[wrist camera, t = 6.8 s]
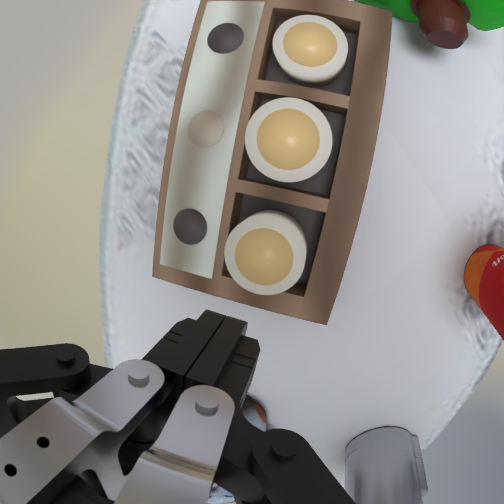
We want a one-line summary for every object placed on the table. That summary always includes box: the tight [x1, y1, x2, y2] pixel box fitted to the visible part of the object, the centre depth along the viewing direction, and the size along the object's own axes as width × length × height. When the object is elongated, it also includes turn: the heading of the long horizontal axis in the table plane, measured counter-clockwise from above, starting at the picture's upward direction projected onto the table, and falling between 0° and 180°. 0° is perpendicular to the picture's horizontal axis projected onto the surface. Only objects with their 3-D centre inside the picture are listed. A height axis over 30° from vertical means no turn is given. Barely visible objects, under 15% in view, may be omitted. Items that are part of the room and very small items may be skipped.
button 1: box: [273, 15, 348, 87], centre depth 19 cm, size 6×6×3 cm
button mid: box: [245, 97, 332, 182], centre depth 19 cm, size 6×6×3 cm
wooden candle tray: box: [152, 0, 392, 325], centre depth 22 cm, size 16×27×3 cm, turn 169°
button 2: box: [224, 210, 307, 295], centre depth 22 cm, size 6×6×3 cm
